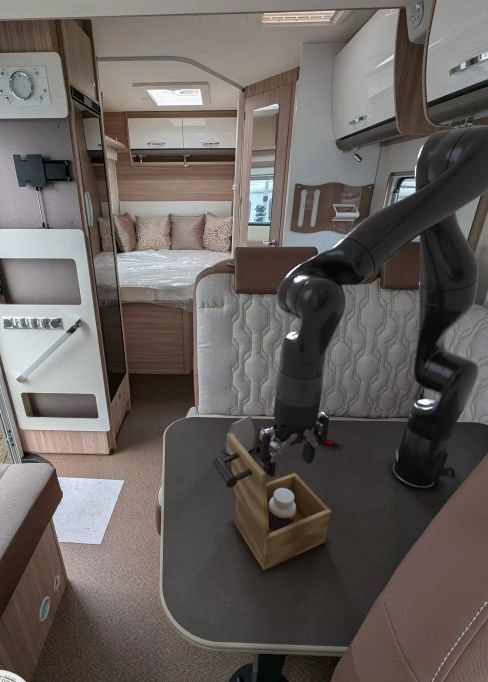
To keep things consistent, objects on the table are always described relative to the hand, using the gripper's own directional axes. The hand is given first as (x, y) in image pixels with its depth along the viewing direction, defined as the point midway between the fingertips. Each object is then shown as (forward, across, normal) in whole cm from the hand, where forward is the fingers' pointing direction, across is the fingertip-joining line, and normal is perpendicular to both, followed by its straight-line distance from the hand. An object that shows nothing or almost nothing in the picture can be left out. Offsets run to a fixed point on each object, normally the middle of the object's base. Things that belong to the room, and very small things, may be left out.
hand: (288, 467), depth 68 cm
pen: (+18, +25, +24) cm, 39 cm away
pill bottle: (+17, -1, 0) cm, 17 cm away
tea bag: (+18, +5, +26) cm, 32 cm away
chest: (+17, -1, 0) cm, 17 cm away
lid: (0, -9, 0) cm, 9 cm away
